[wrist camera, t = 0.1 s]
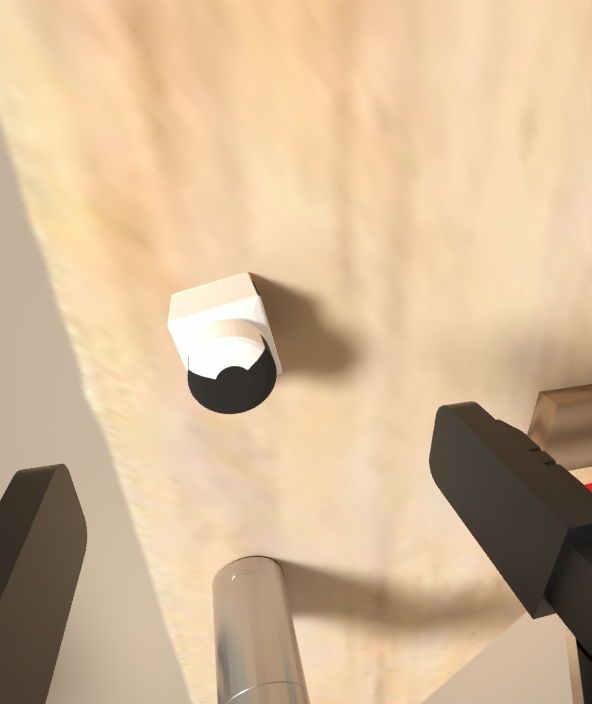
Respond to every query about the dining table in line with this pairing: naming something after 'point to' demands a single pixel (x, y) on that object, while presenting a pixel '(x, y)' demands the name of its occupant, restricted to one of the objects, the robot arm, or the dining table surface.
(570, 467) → the walnut base plate
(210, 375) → the medicine bottle
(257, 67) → the dining table surface
